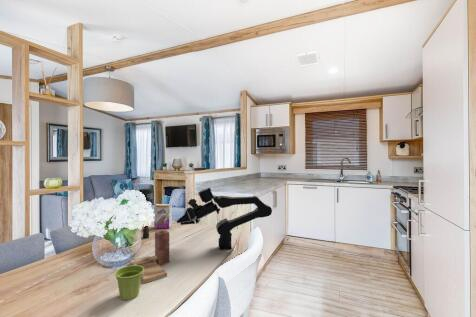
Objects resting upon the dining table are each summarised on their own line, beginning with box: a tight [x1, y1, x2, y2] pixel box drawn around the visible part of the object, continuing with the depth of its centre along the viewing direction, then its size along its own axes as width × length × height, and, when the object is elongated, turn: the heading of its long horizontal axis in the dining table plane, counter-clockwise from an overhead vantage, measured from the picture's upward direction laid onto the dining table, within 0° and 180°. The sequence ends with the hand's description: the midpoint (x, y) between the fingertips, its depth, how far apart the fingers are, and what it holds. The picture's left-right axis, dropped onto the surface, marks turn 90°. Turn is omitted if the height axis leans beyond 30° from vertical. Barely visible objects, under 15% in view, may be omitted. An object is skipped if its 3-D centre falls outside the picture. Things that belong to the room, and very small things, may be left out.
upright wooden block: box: [136, 229, 170, 266], centre depth 108 cm, size 14×5×15 cm, turn 128°
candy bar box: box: [153, 203, 173, 229], centre depth 168 cm, size 11×5×16 cm, turn 84°
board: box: [129, 255, 168, 284], centre depth 103 cm, size 22×9×2 cm, turn 38°
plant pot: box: [114, 265, 144, 301], centre depth 84 cm, size 9×9×9 cm
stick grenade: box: [138, 187, 154, 239], centre depth 146 cm, size 8×9×30 cm
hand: (178, 223), depth 124 cm, fingers open, 9 cm apart
